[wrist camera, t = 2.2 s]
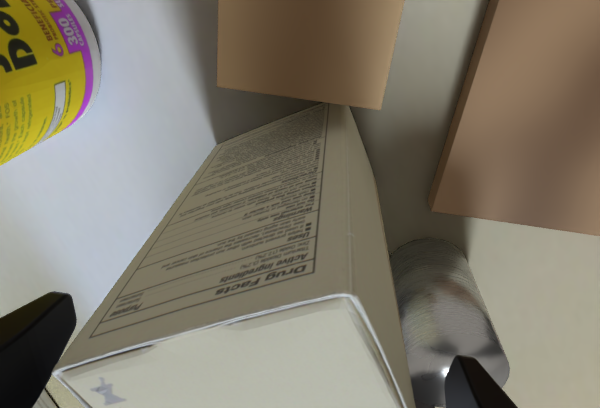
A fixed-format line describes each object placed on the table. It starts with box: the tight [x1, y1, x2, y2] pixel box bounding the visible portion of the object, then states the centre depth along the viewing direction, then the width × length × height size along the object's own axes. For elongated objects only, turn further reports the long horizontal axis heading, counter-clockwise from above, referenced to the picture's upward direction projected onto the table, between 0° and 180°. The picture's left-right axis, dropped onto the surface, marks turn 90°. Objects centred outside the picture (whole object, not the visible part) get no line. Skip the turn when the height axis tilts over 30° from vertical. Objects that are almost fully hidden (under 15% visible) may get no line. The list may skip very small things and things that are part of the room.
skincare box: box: [52, 102, 416, 408], centre depth 13 cm, size 6×4×12 cm
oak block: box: [217, 0, 405, 110], centre depth 14 cm, size 5×4×4 cm
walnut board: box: [428, 0, 600, 236], centre depth 16 cm, size 10×10×1 cm
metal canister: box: [389, 239, 510, 408], centre depth 18 cm, size 4×4×6 cm
